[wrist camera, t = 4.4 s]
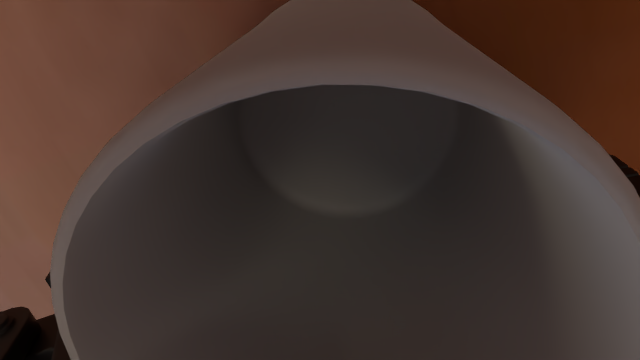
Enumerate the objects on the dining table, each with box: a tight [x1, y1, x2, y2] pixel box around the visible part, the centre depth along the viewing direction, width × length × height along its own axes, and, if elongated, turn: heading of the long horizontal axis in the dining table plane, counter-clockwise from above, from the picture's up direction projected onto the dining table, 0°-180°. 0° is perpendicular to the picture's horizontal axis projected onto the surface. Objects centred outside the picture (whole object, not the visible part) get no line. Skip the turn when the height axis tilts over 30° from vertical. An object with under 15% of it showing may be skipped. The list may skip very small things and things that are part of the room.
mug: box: [50, 0, 640, 360], centre depth 11 cm, size 12×8×11 cm
